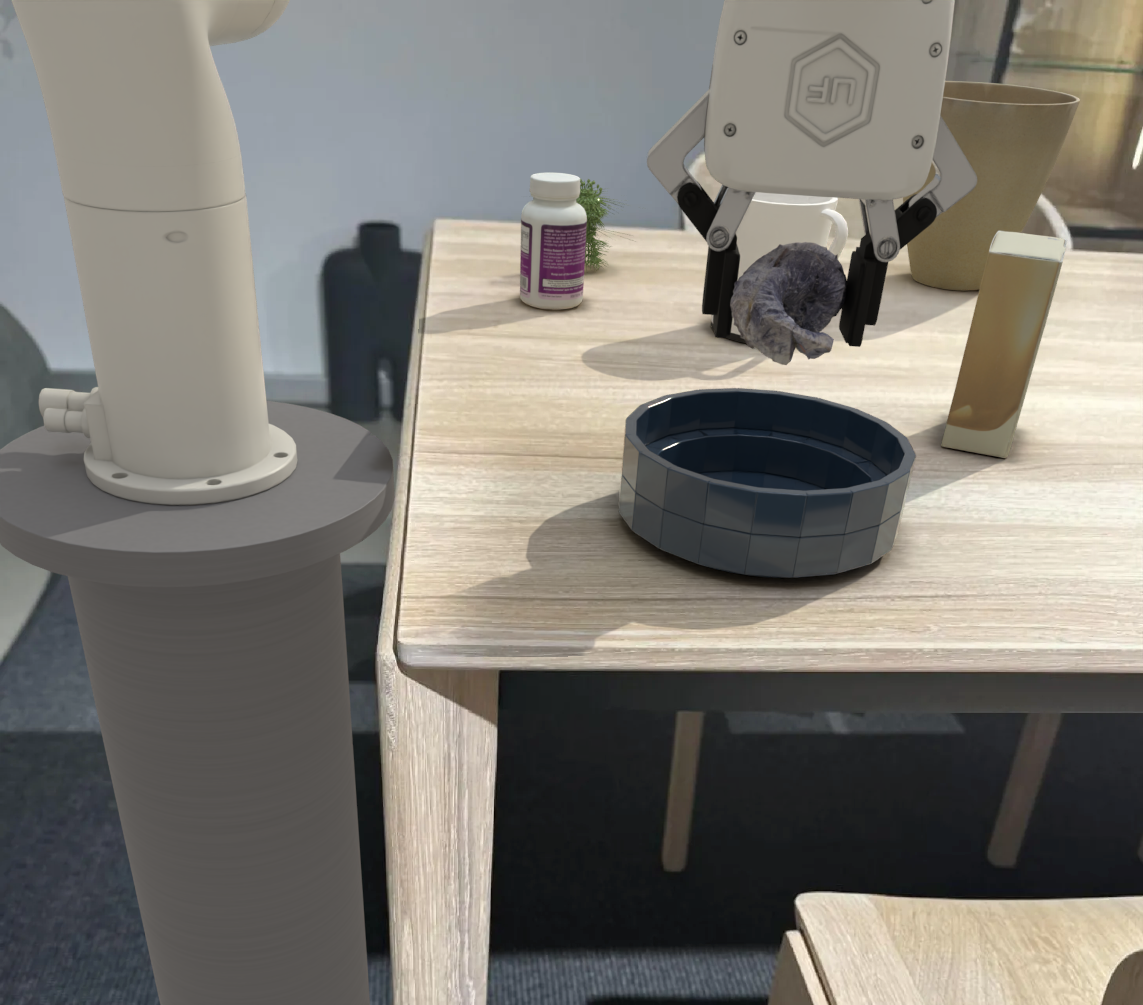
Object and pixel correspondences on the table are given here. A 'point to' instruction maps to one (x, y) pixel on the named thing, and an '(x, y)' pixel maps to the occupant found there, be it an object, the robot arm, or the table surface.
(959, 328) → the table surface
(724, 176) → the robot arm
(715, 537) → the bowl
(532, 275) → the pill bottle
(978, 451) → the cosmetic box
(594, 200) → the green plant
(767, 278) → the seashell
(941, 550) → the table surface
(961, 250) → the plant pot
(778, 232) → the mug
